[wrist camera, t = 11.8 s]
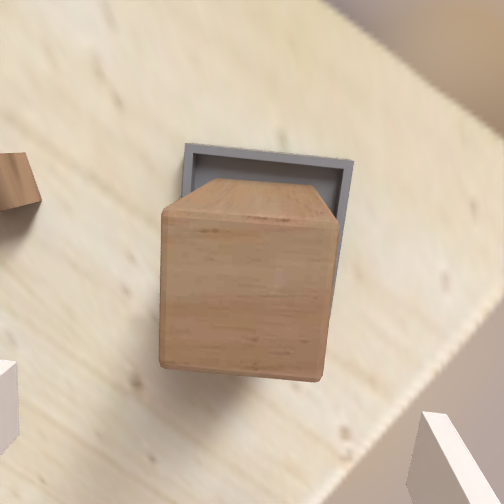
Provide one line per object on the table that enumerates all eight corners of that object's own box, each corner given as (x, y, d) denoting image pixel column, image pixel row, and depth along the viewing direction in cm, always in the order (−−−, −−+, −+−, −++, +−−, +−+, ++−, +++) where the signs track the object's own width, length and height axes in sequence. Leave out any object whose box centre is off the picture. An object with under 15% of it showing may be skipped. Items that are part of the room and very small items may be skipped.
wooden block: (305, 282, 46) (322, 386, 27) (208, 274, 46) (156, 371, 27) (315, 184, 44) (342, 220, 24) (213, 177, 44) (159, 206, 25)
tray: (180, 293, 48) (175, 301, 45) (190, 143, 44) (185, 143, 41) (327, 310, 47) (329, 319, 45) (349, 159, 43) (354, 160, 41)
